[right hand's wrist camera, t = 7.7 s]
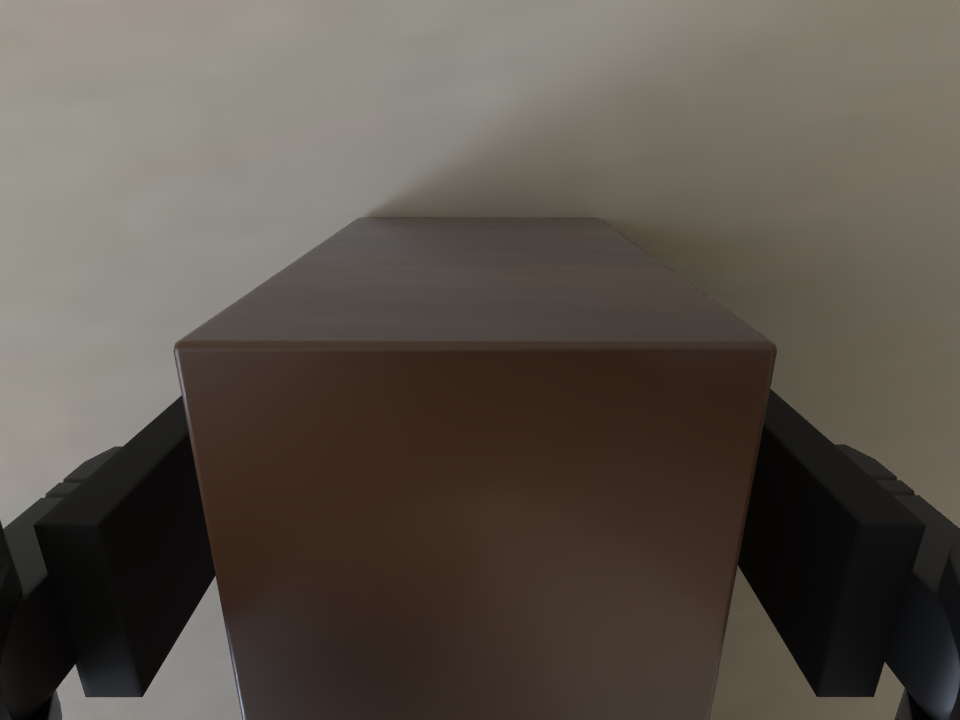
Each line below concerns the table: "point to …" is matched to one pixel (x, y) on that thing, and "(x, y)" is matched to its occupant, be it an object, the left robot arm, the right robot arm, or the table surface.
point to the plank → (475, 475)
